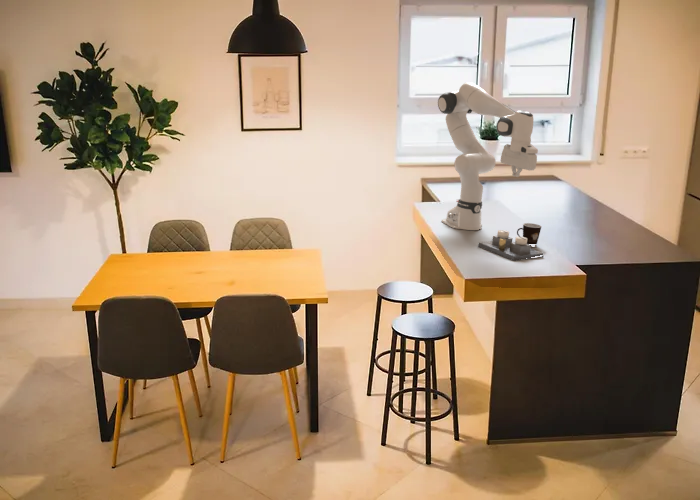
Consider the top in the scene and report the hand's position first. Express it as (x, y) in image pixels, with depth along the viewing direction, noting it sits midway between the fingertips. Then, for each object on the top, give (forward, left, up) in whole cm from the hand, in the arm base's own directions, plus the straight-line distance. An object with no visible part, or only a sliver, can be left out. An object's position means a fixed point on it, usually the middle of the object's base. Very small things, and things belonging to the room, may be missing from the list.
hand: (515, 176), depth 337 cm
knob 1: (+4, -7, -31) cm, 32 cm away
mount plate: (+10, -7, -33) cm, 35 cm away
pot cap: (+10, -12, -31) cm, 35 cm away
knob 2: (+16, -7, -31) cm, 36 cm away
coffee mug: (+3, +10, -34) cm, 35 cm away
